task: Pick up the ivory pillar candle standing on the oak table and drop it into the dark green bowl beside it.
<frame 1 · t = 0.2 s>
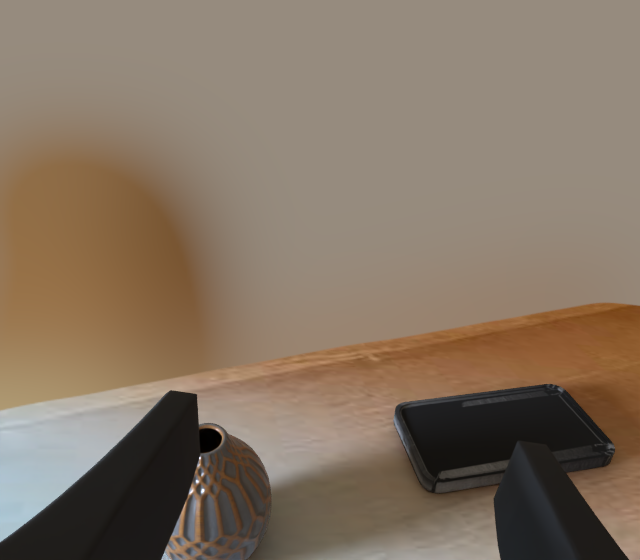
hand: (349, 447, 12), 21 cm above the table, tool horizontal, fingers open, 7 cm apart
phone: (497, 439, 40), on the table
vase: (217, 540, 32), on the table
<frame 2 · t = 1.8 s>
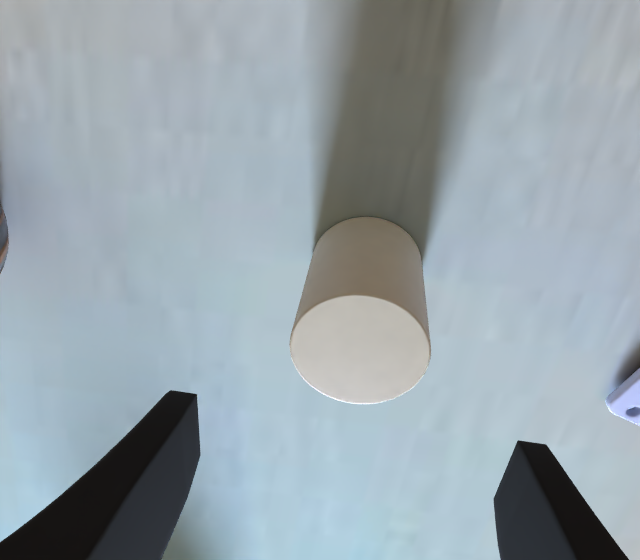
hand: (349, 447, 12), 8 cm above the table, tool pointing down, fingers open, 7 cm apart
candle: (366, 266, 19), on the table
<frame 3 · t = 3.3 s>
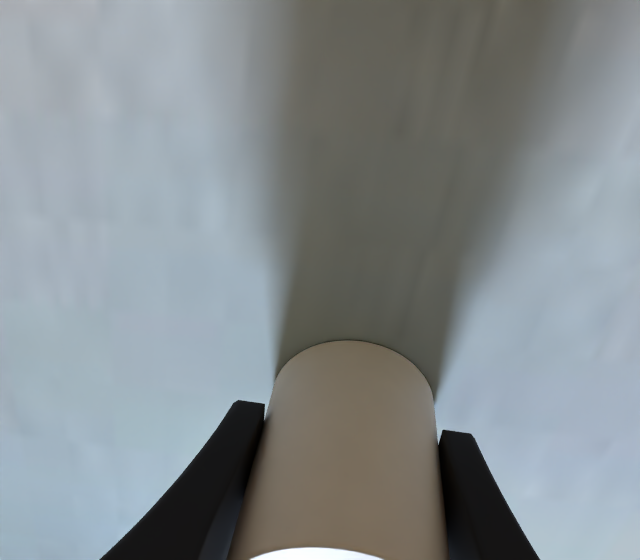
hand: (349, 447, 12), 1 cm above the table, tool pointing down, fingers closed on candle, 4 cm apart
candle: (351, 402, 13), on the table, touching gripper
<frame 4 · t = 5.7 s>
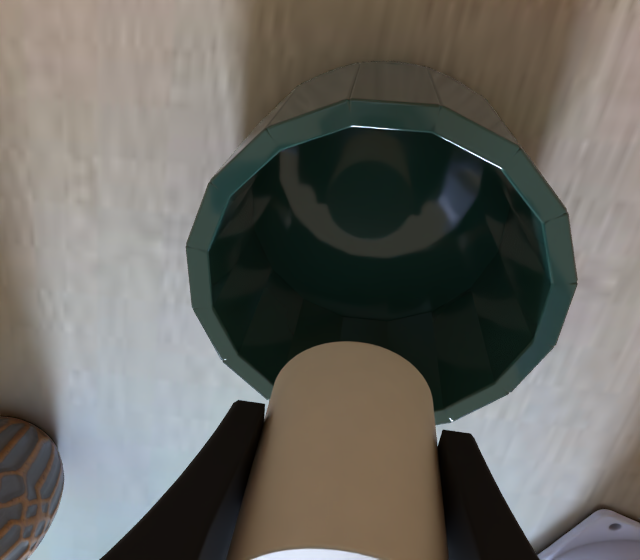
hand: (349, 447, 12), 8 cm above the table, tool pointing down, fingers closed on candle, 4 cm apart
vase: (23, 440, 27), on the table
dark green bowl: (376, 210, 18), on the table
candle: (351, 403, 13), point 7 cm above the table, touching gripper
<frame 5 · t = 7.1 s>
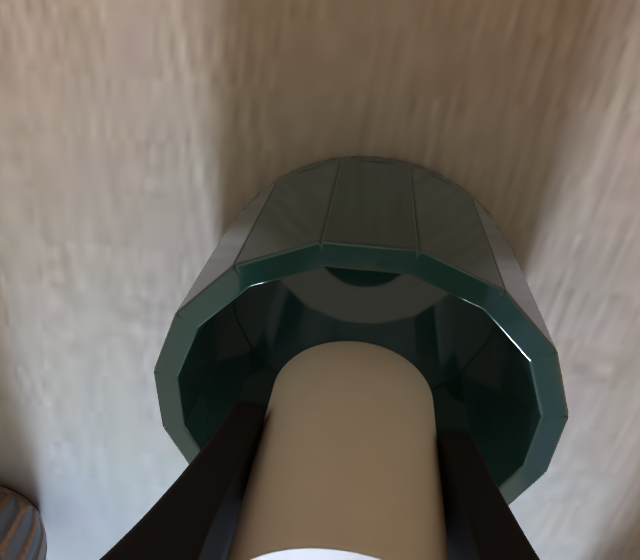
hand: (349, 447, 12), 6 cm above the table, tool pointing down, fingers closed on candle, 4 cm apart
vase: (5, 505, 26), on the table
dark green bowl: (362, 298, 17), on the table
candle: (351, 403, 13), point 5 cm above the table, touching gripper
when the fingers open (5 cm above the table, at t = 8.5 s): candle stays where it is, resting on dark green bowl.
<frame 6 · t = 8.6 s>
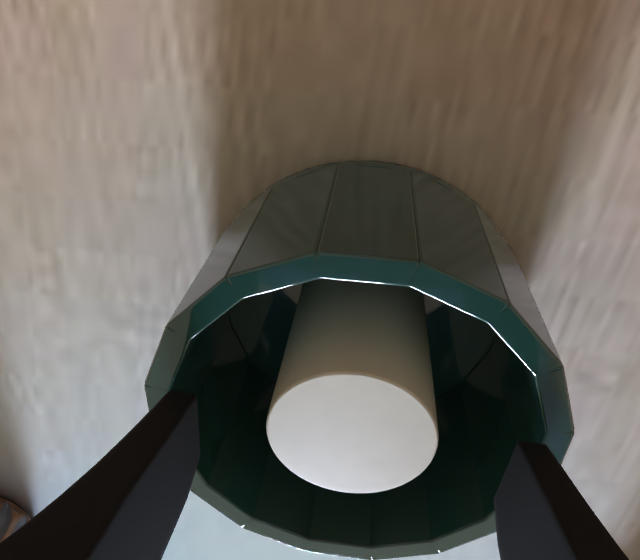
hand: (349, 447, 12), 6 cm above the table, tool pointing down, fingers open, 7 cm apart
dark green bowl: (360, 305, 17), on the table
candle: (360, 314, 16), resting on dark green bowl
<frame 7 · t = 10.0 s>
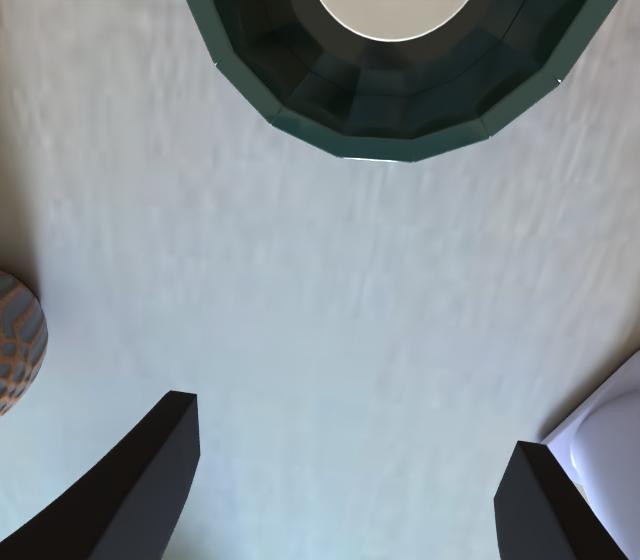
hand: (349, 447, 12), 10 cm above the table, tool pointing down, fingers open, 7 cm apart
vase: (3, 301, 24), on the table
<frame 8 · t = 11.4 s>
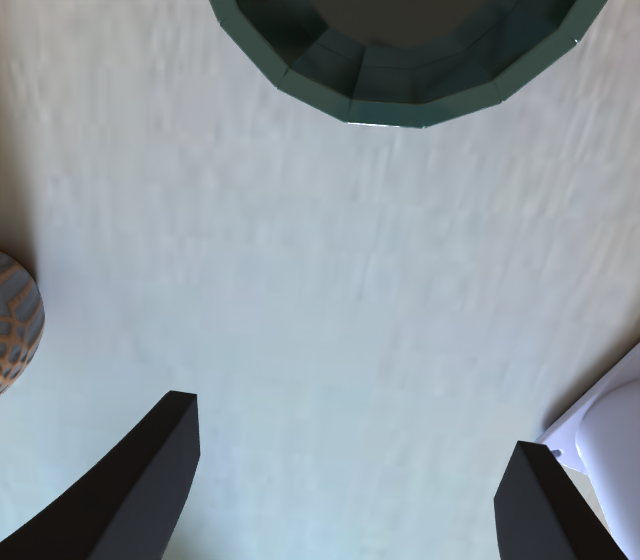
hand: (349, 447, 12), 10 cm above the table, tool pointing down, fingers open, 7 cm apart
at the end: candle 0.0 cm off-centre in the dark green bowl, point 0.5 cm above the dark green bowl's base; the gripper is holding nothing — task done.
